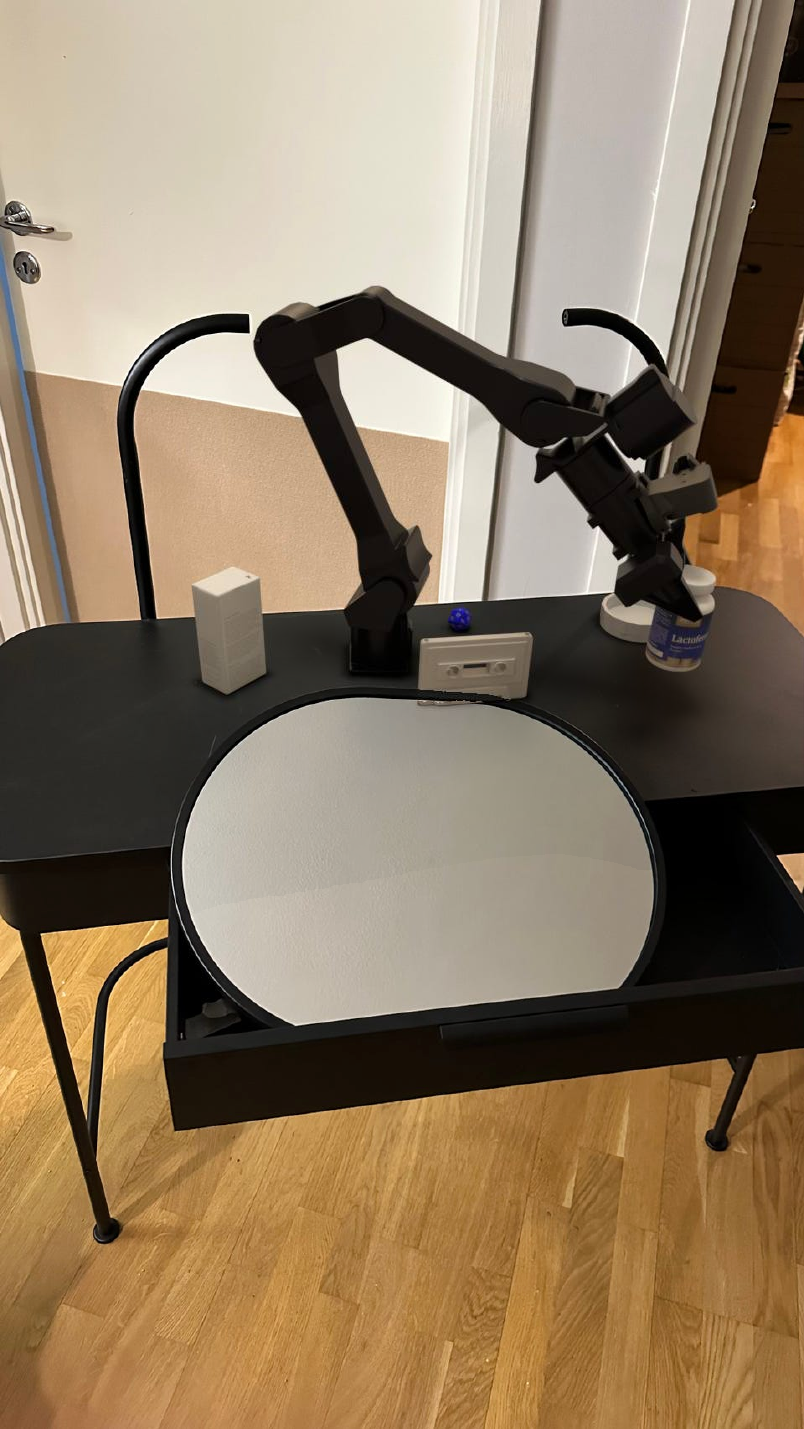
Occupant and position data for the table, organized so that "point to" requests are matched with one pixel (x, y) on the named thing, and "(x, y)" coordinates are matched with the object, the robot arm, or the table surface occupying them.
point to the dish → (627, 619)
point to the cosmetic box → (229, 629)
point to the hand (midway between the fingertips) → (698, 606)
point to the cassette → (475, 650)
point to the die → (459, 618)
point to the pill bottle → (682, 627)
